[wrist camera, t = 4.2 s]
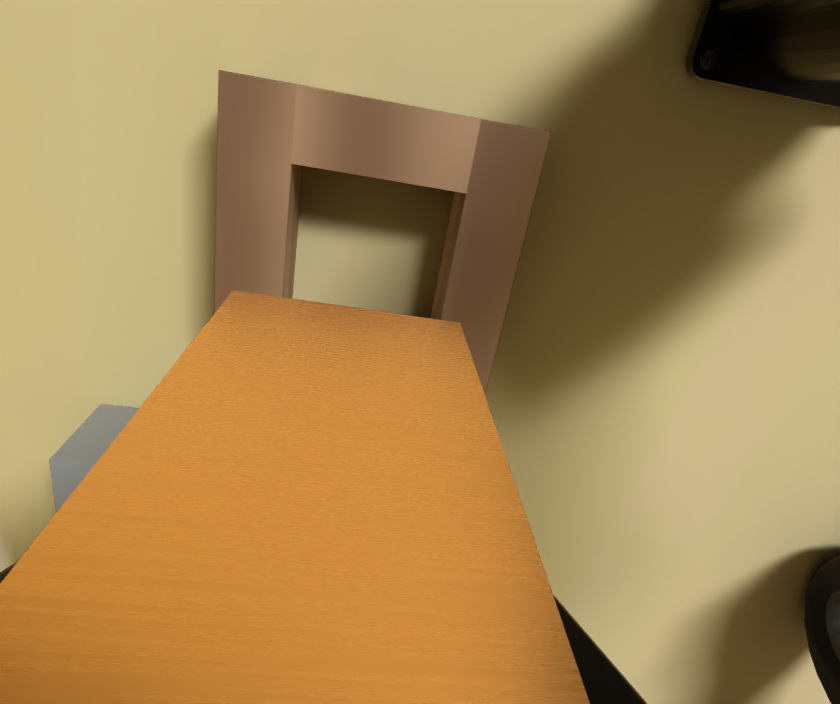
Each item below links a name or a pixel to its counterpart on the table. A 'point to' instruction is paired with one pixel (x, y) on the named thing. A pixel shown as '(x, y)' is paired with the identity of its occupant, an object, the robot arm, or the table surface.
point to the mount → (378, 158)
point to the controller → (825, 626)
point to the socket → (86, 449)
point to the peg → (294, 533)
